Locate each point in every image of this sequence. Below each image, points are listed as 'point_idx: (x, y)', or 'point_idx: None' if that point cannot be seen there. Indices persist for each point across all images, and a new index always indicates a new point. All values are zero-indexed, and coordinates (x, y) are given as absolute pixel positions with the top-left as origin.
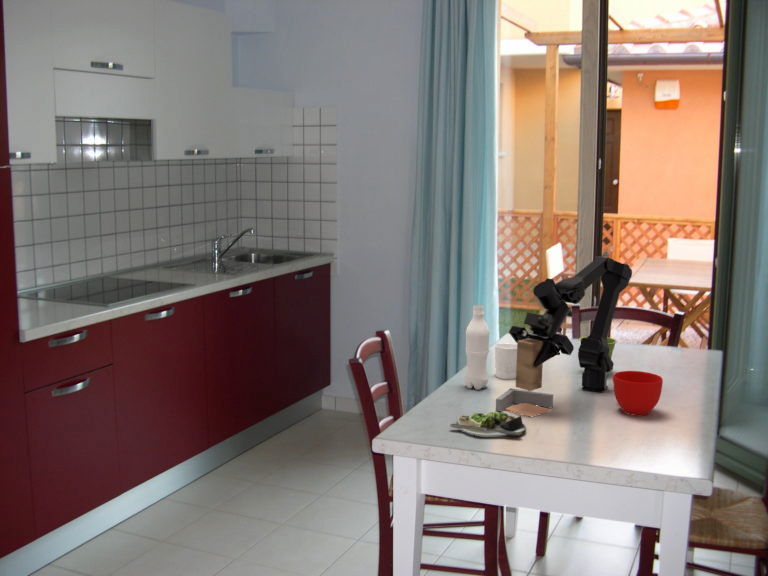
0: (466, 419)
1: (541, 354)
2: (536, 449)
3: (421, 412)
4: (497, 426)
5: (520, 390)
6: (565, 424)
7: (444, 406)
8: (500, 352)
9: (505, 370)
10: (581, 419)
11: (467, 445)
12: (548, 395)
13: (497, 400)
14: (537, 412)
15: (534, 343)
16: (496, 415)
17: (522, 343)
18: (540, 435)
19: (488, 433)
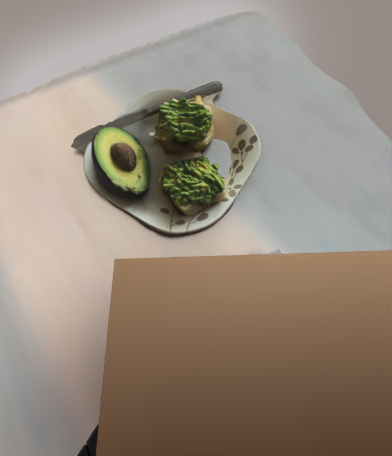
0: (241, 141)
1: (90, 450)
2: (21, 134)
3: (351, 121)
4: (148, 145)
5: None
6: (46, 331)
7: (372, 186)
8: None
9: None
10: (25, 432)
11: (137, 68)
12: None
13: (273, 253)
14: None
15: (114, 376)
16: (188, 175)
17: (371, 261)
18: (58, 202)
19: (136, 110)
